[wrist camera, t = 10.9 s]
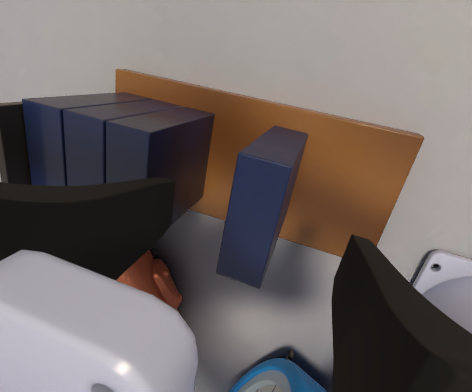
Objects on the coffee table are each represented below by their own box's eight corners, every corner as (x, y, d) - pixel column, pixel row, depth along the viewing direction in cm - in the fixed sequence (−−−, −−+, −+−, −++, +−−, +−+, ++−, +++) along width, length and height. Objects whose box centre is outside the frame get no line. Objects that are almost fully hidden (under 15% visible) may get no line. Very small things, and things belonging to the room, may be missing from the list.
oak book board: (366, 257, 19) (389, 386, 11) (122, 181, 23) (7, 237, 15) (420, 133, 16) (506, 190, 8) (125, 69, 19) (-23, 62, 11)
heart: (13, 222, 18) (11, 358, 25) (189, 308, 18) (138, 423, 25) (80, 186, 24) (63, 307, 31) (218, 251, 23) (169, 359, 30)
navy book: (284, 219, 19) (259, 289, 13) (254, 210, 19) (215, 274, 13) (308, 133, 16) (292, 166, 10) (273, 125, 17) (237, 152, 11)
